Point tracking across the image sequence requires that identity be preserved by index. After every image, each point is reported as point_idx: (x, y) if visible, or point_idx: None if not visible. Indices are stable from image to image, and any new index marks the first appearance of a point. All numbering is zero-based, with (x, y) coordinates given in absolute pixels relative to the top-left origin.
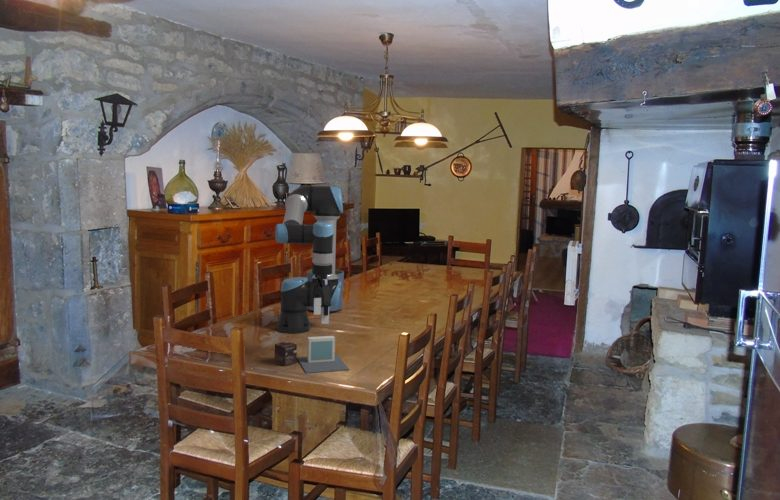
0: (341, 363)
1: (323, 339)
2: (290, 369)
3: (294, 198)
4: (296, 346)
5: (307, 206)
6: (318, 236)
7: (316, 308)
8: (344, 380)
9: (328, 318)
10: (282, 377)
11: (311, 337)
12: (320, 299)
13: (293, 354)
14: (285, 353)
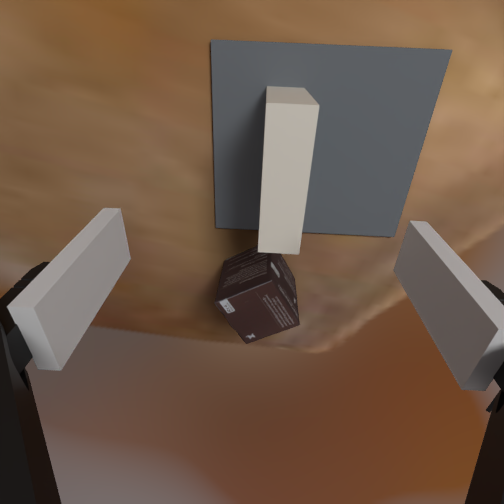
0: (355, 63)
1: (307, 179)
2: (330, 269)
3: None
4: (272, 277)
5: None
6: None
7: (105, 273)
8: None
9: (446, 249)
10: (392, 301)
11: (269, 236)
12: (48, 303)
13: (280, 270)
14: (296, 305)
